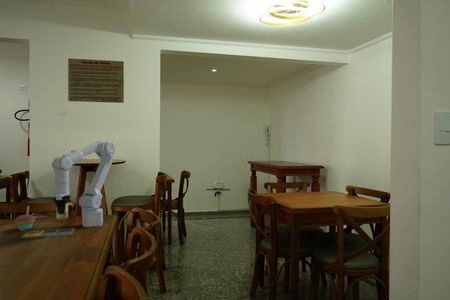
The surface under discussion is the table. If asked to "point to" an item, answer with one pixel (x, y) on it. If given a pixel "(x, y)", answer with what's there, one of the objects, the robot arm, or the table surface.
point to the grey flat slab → (48, 233)
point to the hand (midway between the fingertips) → (62, 213)
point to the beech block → (61, 216)
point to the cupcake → (25, 221)
